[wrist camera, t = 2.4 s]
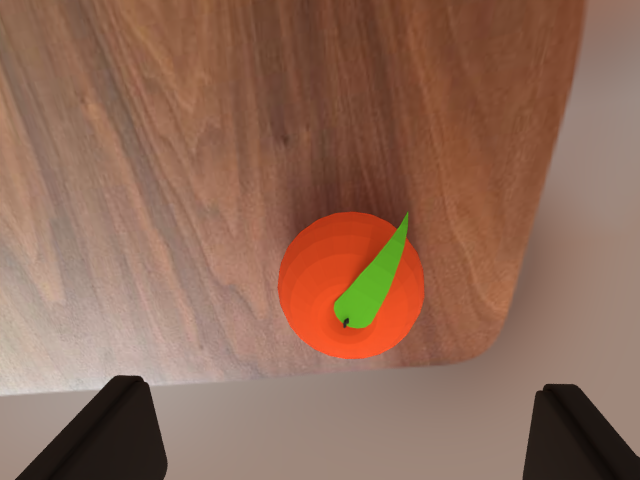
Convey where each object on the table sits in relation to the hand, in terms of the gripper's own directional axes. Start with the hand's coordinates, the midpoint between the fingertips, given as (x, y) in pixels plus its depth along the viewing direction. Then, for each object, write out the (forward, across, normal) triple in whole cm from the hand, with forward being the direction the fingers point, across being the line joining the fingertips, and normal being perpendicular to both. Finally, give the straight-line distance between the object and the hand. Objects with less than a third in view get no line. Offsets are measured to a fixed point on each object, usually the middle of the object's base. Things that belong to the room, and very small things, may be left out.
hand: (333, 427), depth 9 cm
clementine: (+13, -1, 0) cm, 13 cm away
